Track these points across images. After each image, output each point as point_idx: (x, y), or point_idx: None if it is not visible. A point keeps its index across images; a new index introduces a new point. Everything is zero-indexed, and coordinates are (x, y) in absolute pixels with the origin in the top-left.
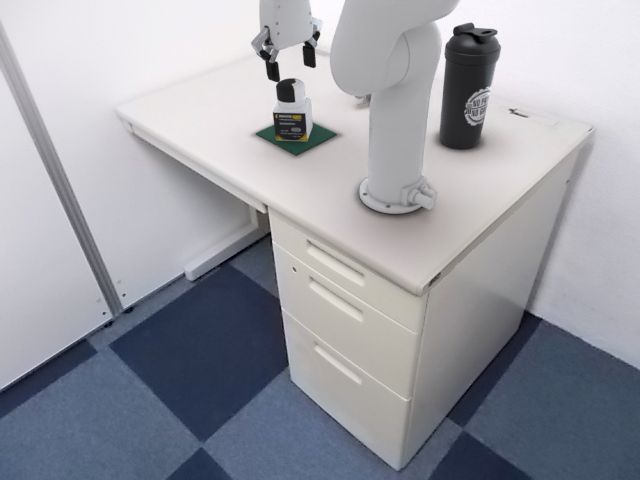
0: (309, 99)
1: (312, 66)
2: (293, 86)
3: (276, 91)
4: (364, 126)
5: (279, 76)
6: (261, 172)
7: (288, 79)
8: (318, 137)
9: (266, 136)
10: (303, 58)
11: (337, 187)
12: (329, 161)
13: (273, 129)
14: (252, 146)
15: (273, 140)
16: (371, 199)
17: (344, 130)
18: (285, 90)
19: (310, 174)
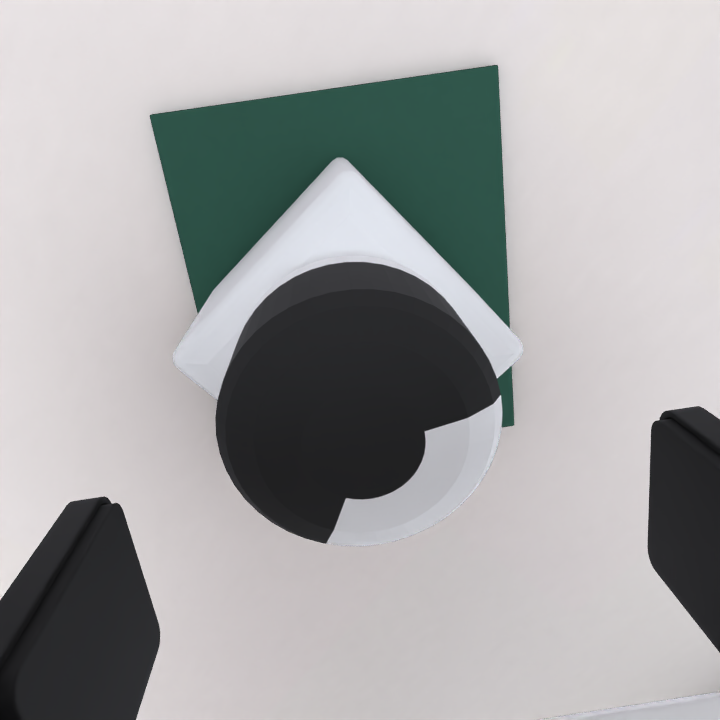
0: (498, 374)
1: (657, 559)
2: (337, 531)
3: (233, 353)
4: None
5: (143, 681)
6: (24, 486)
7: (386, 387)
8: None
9: (188, 207)
10: (703, 457)
11: (249, 712)
12: (332, 575)
13: (267, 155)
14: (75, 239)
15: (202, 279)
16: None
17: (573, 404)
18: (255, 507)
19: (210, 606)
